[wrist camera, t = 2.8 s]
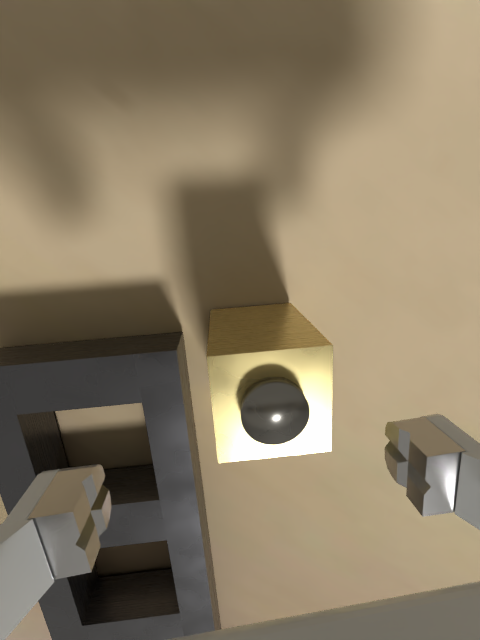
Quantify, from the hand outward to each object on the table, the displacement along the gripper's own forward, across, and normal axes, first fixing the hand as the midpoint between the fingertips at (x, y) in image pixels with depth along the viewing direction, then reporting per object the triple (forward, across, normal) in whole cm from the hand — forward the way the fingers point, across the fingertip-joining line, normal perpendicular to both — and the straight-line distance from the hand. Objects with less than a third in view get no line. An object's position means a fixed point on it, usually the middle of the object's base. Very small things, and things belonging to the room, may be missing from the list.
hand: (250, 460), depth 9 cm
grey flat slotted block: (+8, +7, +11) cm, 15 cm away
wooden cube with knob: (+8, -1, -1) cm, 8 cm away
